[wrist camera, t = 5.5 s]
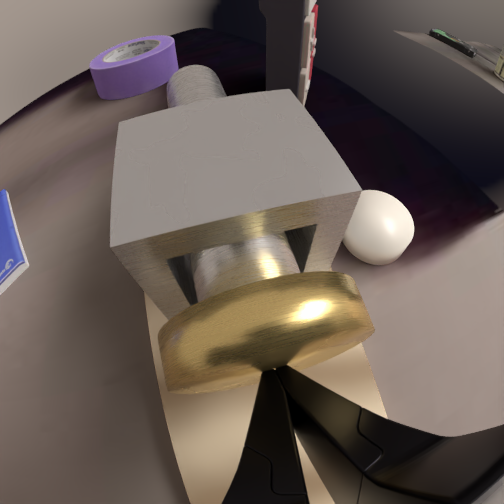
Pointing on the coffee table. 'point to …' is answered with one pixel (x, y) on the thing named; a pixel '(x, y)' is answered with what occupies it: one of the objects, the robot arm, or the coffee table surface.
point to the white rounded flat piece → (378, 228)
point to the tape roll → (134, 67)
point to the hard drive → (9, 245)
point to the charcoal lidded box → (290, 44)
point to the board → (244, 420)
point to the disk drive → (453, 42)
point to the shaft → (253, 300)
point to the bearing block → (224, 188)
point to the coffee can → (500, 66)
